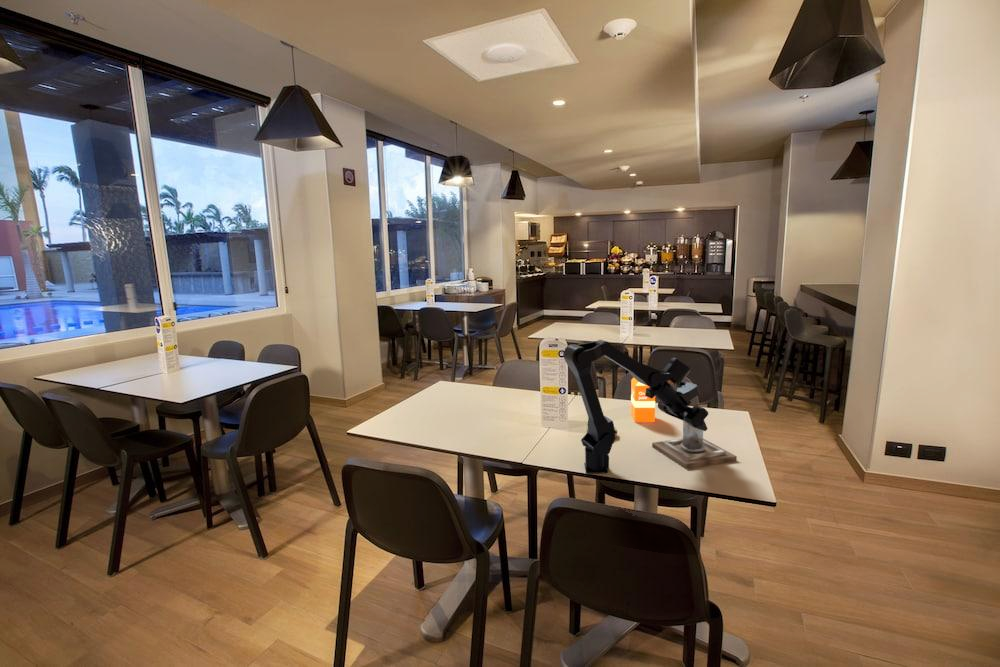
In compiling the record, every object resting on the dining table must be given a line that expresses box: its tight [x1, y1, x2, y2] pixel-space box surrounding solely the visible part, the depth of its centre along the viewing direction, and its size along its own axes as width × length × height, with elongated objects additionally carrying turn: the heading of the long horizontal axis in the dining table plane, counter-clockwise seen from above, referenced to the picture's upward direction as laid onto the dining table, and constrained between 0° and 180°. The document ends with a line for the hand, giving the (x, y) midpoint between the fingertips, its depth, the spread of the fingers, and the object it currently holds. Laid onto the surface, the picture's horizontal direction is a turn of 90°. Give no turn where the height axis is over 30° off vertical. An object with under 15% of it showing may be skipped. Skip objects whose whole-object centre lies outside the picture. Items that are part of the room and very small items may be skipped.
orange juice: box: [630, 376, 656, 423], centre depth 187 cm, size 8×9×20 cm
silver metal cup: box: [681, 406, 705, 454], centre depth 153 cm, size 7×7×13 cm
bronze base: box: [651, 437, 738, 470], centre depth 154 cm, size 18×18×2 cm
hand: (697, 425), depth 153 cm, fingers open, 8 cm apart
